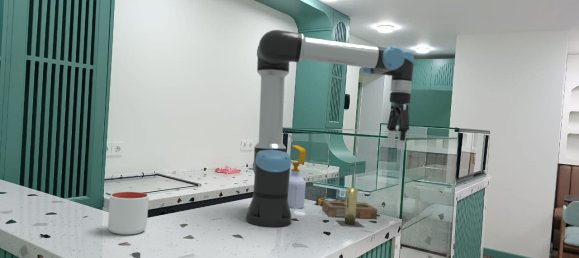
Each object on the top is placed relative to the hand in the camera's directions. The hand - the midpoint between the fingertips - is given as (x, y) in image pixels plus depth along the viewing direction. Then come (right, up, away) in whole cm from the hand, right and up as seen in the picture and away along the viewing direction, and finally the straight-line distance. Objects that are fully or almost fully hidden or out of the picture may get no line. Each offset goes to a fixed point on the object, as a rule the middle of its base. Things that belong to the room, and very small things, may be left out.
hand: (395, 148), depth 156 cm
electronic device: (-21, -26, +15) cm, 36 cm away
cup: (-85, -21, -42) cm, 97 cm away
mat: (-20, -26, -14) cm, 35 cm away
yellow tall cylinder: (-20, -25, -14) cm, 35 cm away
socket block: (-18, -26, +1) cm, 31 cm away
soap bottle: (-39, -24, +9) cm, 47 cm away
